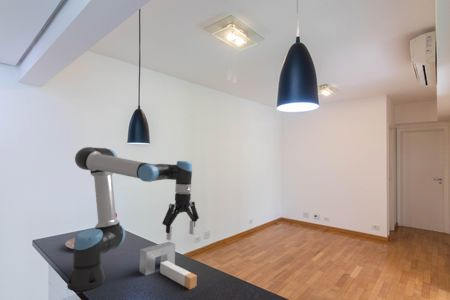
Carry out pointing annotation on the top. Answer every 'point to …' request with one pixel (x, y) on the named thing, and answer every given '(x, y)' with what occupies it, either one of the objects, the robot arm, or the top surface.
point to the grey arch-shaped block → (150, 253)
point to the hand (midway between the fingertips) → (180, 236)
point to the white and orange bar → (178, 274)
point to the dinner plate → (70, 243)
